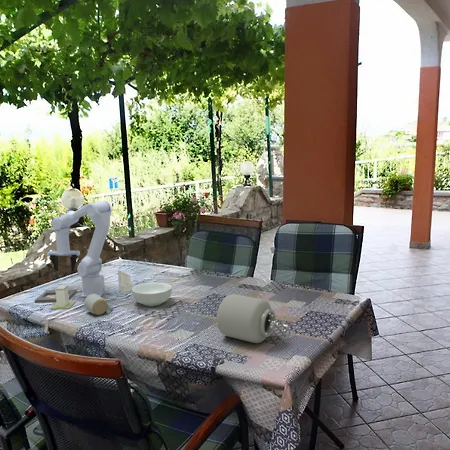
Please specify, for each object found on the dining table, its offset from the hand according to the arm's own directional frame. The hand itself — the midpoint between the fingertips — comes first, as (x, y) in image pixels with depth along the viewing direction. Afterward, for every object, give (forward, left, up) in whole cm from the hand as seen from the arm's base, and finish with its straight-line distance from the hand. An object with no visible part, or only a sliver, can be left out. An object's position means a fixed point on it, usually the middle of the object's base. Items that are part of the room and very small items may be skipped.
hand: (65, 270), depth 218 cm
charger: (-6, +23, -9) cm, 25 cm away
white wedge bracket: (-29, +3, -10) cm, 31 cm away
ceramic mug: (-24, +32, -10) cm, 41 cm away
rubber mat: (-6, +23, -9) cm, 26 cm away
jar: (-86, +62, -10) cm, 107 cm away
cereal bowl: (-44, +22, -10) cm, 50 cm away
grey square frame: (+1, +11, -9) cm, 15 cm away
